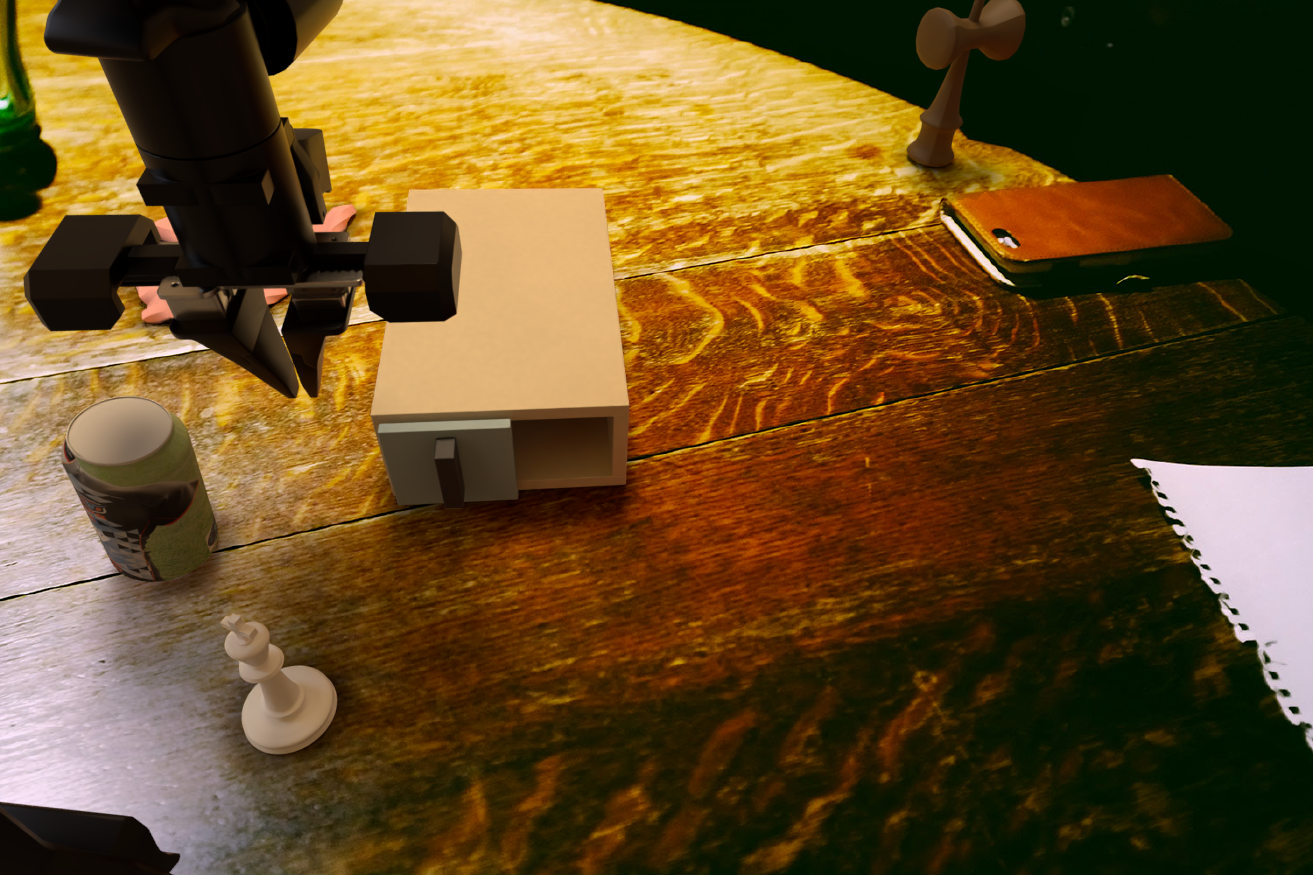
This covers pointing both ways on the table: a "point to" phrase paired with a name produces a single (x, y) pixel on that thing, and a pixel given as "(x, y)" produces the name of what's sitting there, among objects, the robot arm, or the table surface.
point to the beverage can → (141, 487)
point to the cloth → (333, 223)
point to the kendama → (959, 66)
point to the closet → (521, 336)
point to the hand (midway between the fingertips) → (305, 392)
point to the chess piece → (278, 692)
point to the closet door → (450, 461)
